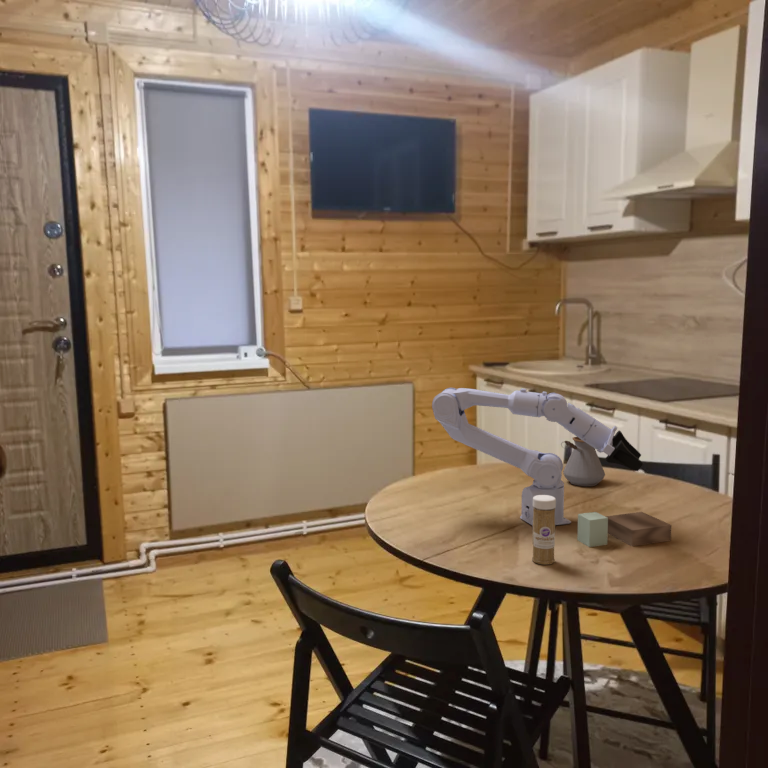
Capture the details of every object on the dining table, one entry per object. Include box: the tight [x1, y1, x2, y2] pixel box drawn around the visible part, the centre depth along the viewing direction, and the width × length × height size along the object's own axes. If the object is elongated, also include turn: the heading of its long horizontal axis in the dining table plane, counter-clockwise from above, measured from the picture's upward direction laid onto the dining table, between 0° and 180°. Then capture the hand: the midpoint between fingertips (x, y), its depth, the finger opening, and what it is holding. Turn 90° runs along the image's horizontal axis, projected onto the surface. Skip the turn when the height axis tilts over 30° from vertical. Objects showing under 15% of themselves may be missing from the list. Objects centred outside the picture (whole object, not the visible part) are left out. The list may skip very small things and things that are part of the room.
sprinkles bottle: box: [531, 495, 556, 566], centre depth 143 cm, size 5×5×13 cm
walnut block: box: [604, 511, 672, 547], centre depth 158 cm, size 10×10×4 cm
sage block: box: [576, 511, 609, 548], centre depth 154 cm, size 4×4×6 cm
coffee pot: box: [560, 436, 606, 487], centre depth 197 cm, size 21×12×15 cm, turn 145°
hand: (639, 462), depth 162 cm, fingers open, 7 cm apart
